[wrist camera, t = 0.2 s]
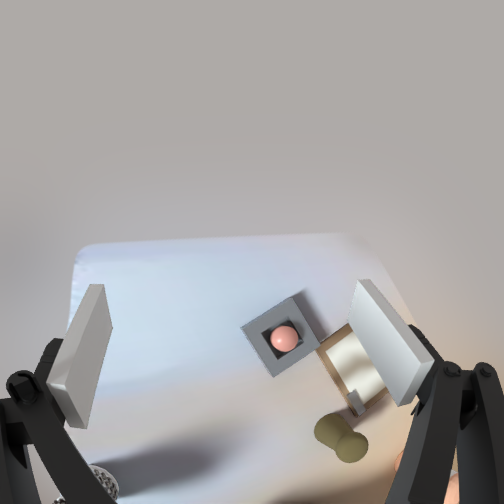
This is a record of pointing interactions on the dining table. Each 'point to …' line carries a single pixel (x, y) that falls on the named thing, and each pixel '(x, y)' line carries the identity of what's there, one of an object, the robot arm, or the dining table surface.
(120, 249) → the dining table surface
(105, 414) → the dining table surface
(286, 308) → the button housing
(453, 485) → the pepper shaker
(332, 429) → the pepper shaker
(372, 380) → the clipboard
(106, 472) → the decorative candle
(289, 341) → the button
